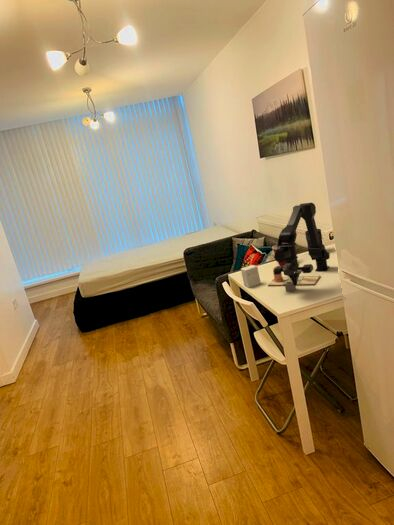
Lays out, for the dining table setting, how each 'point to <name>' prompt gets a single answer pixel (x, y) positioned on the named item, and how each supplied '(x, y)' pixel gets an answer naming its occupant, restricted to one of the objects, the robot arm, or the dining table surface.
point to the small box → (250, 276)
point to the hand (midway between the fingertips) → (295, 285)
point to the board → (301, 281)
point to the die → (290, 286)
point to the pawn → (277, 277)
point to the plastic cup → (275, 252)
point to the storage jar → (309, 238)
